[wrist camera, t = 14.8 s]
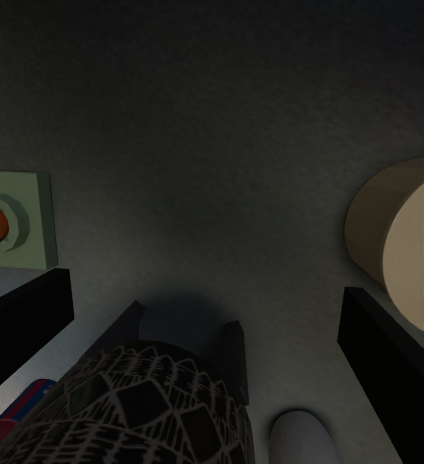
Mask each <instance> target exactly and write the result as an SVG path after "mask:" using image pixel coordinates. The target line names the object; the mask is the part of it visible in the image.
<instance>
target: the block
mask: <svg viewBox="0 0 424 464" xmlns="http://www.w3.org/2000/svg"><path fill="white" fill-rule="evenodd" d="M0 211H2V212H3V214H4V215H5V217H6V218H7V220H8V225H9V231H8V234H7V235H6V236H5V237H4V238H3V239H1V240H0V266H3V267H15V268H27V269H39V270H48V269H50V268H52V267H54V266H56V265H57V264H58V261H57V251H56V241H55V230H54V220H53V210H52V200H51V189H50V179H49V173H40V172H18V171H0Z"/></svg>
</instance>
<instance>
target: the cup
mask: <svg viewBox="0 0 424 464" xmlns="http://www.w3.org/2000/svg"><path fill="white" fill-rule="evenodd" d="M55 384H56V383H55V382H53V381H51V380H46V379H40V380H36V381H34V382H33V383H31V384H30V385H29V386H28V387H27V388H26V389H25V391H24V392H23V393H22V394H21V395H20V396H19V397H18V398H17V399H16V400H15V401H14V402H13V403H12V404H11V405H10V406H9V407H8V408H7V409H6V410H5V411H4V412H3V413H2V414H1V415H0V441H1V440H2V439H3V438H4V437H5V436H6V435H7V434H8V433H9V432H10V431H11V430H12V429H13V428H14V427H15V426H16V425H17V424H18V422H19V421H20V420H21V419H22V418H23V417H24V416H25V415H26V414H27V413H28V412H29V411H30V410H31V409H32V408H33V407H34V406H35V405H36V404H37V403H38V402H39V401H40V399H41V398H42V397H43V396H44V395H45V394H46V393H47V392H48V391H49V390H50V389H51V388H52V387H53V386H54V385H55Z"/></svg>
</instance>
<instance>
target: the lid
mask: <svg viewBox="0 0 424 464" xmlns="http://www.w3.org/2000/svg"><path fill="white" fill-rule="evenodd" d="M379 260H380V273H381V279H382V282H383V285H384V288H385V291H386V293H387V295H388V297H389V299H390V301H391V302H392V303H393V305H394V306H395V307H396V309H397V310H398V311H399V312H400V313H401V314H402V315H403V316H404V317H405V318H406V319H407V320H408V321H409V322H411V323H412V324H413V325H415V326H416V327H417V328H419V329H420V330H422V331H424V179H423V180H422V181H421V182H420V183H418V184H417V185H416V186H415V187H414V188H413V189H412V190H411V191H410V192H409V193H408V194H407V195H406V196H405V197H404V199H403V200H402V201H401V203H400V204H399V205H398V207H397V208H396V210H395V211H394V213H393V215H392V217H391V218H390V220H389V222H388V225H387V227H386V230H385V232H384V235H383V239H382V243H381V248H380V257H379Z"/></svg>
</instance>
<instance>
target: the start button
mask: <svg viewBox="0 0 424 464" xmlns="http://www.w3.org/2000/svg"><path fill="white" fill-rule="evenodd" d="M8 231H9V225H8V220H7V218H6V217H5V215H4V214H3V212H2V211H0V240H1V239H3V238H4V237H5V236H6V235H7V234H8Z"/></svg>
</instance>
